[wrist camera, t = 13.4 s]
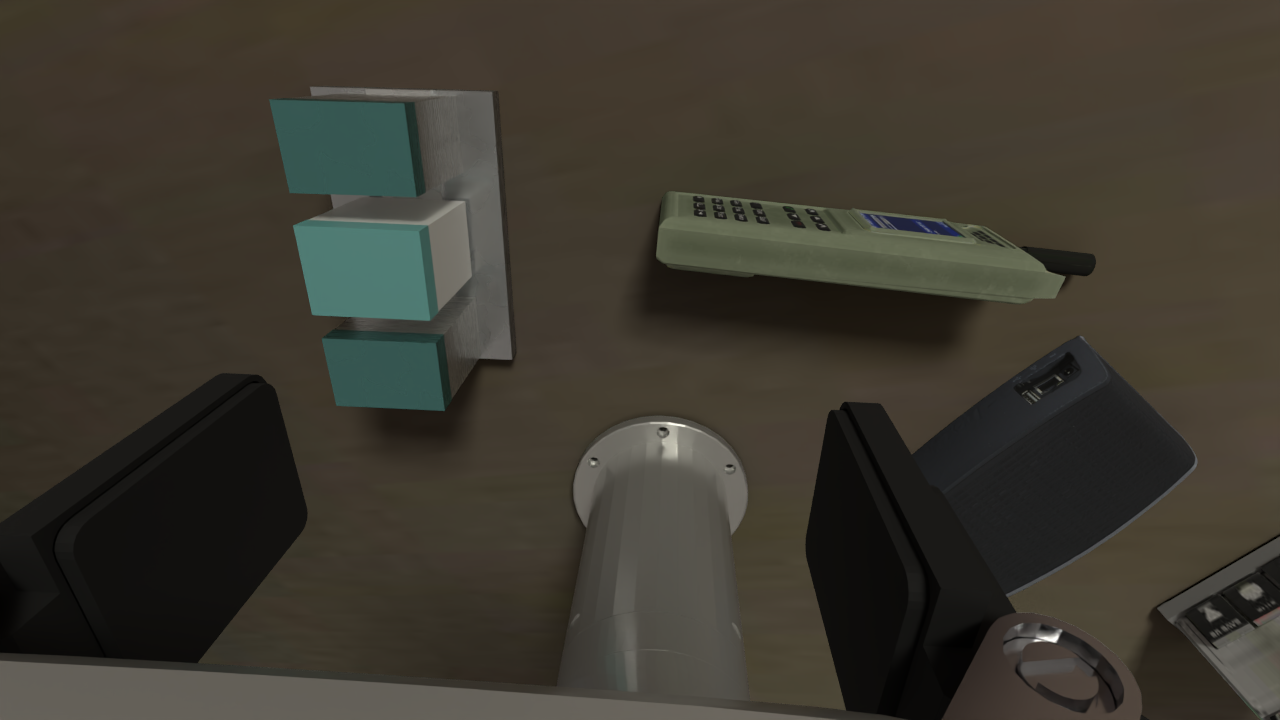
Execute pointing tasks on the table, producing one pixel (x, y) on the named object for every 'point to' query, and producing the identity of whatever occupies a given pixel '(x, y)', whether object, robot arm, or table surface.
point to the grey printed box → (1238, 626)
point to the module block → (385, 257)
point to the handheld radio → (857, 249)
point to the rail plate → (411, 169)
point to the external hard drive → (1054, 464)
